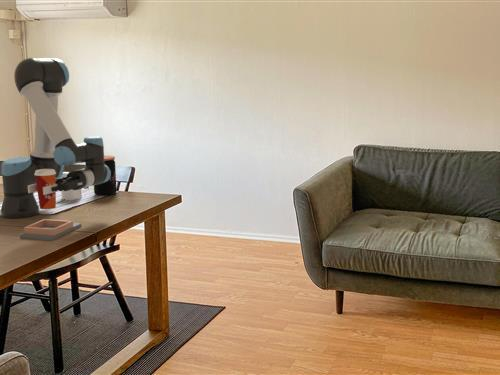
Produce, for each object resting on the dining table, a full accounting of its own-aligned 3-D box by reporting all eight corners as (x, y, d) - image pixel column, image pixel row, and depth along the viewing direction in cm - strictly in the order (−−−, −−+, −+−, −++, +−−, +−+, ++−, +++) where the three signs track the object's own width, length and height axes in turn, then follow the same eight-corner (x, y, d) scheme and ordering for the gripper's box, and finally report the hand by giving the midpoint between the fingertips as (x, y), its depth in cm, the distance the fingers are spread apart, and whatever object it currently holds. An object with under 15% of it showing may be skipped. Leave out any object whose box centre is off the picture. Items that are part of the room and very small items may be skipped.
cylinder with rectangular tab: (57, 199, 285) (56, 174, 283) (68, 195, 294) (67, 170, 291) (74, 200, 283) (73, 175, 280) (85, 196, 291) (83, 171, 289)
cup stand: (20, 237, 223) (19, 228, 222) (52, 224, 242) (51, 215, 241) (51, 240, 219) (50, 231, 219) (81, 226, 238) (80, 217, 238)
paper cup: (52, 210, 223) (49, 172, 220) (32, 209, 224) (29, 171, 221) (62, 205, 230) (60, 168, 227) (44, 204, 232) (41, 168, 229)
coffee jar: (105, 197, 289) (103, 159, 286) (89, 194, 295) (87, 157, 291) (121, 193, 298) (119, 156, 295) (105, 190, 304) (103, 154, 300)
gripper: (100, 190, 238) (57, 202, 218) (61, 186, 246) (17, 198, 226) (98, 171, 237) (56, 181, 216) (60, 168, 245) (15, 178, 225)
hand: (36, 190), depth 221 cm, fingers closed on paper cup, 7 cm apart
